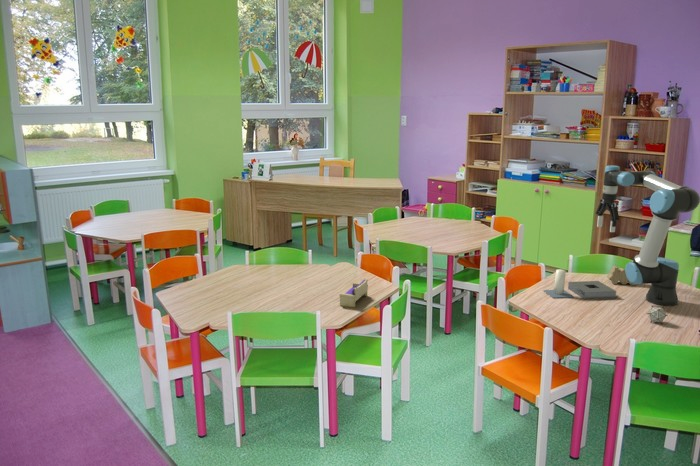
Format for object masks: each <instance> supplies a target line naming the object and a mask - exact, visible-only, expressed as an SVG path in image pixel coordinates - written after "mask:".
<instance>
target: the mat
mask: <svg viewBox="0 0 700 466" xmlns="http://www.w3.org/2000/svg"><path fill="white" fill-rule="evenodd" d="M542 291H543V292H544V293H545V292H546V293H545V294H546V295H548V296H549V295H550V296H549V297H550V298H552V299H568V298H569V299H573V298H575V296H574V295H573V294H571V293H570V292H568V291H567V290H565V289H564V294H563V295H557V294H554V289H543V290H542Z"/></svg>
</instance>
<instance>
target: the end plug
mask: <svg viewBox="0 0 700 466" xmlns="http://www.w3.org/2000/svg"><path fill="white" fill-rule="evenodd" d="M554 276H555V277H554V288H553V290H554V294H557V295H563V294H564V290H565V282H566V270H565V269H559V268H558V269H556V270H555V275H554Z"/></svg>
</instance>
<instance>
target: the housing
mask: <svg viewBox="0 0 700 466" xmlns="http://www.w3.org/2000/svg"><path fill="white" fill-rule="evenodd" d="M567 283H568V284H567V289H568V290H570V291H571V292H572V293H574V294H576V295H577V296H578V297H579V298H581V299H583V300H596V299H597V300H602V299H604V300H605V299H616V296H617V291H616V290H615V289H614V288H611V287H610V286H608V285H606V284H604V283H603V282H601V281H599V280H587V281H582V280H581V281H568V282H567Z"/></svg>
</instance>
